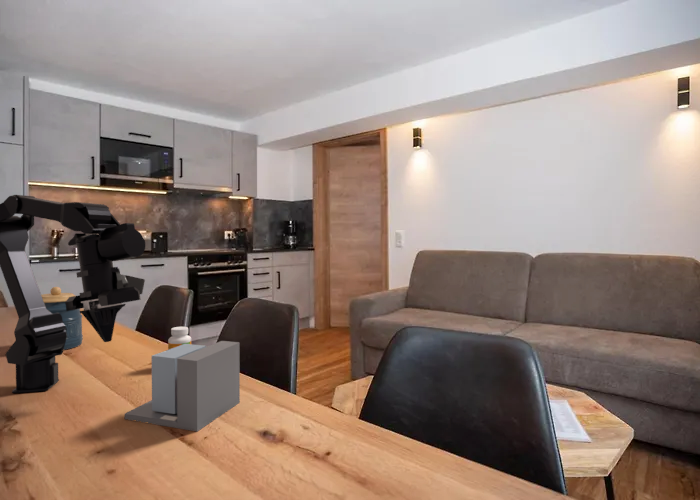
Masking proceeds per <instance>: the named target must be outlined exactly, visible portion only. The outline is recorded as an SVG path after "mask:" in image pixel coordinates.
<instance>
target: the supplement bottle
mask: <svg viewBox="0 0 700 500" xmlns="http://www.w3.org/2000/svg"><path fill="white" fill-rule="evenodd" d="M170 334H171V336H170V337H169V338H168V340H167V343H168V345H167V346H168V347H167V348H168V349H167V350H169V349H172V348H175V347H177V346H180V345H183V344H192V337H191V336H190V335H188V334H189V327H188V326H176V327H175V326H174V327H172V328H171V329H170Z"/></svg>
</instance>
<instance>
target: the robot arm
mask: <svg viewBox="0 0 700 500" xmlns="http://www.w3.org/2000/svg"><path fill="white" fill-rule="evenodd" d="M18 215H21V216H18ZM35 218H40V219H44V220H45V219H46V220H50V221H51V220H52V221H55V222H58V223H60V225H62V227H64V228H67V229H69V230H71V231H73V232H75V234H74V235H73V237H72V238H71V239H69V241H68V243H67V244H68V246H69V247H70V246H71V247H72V246H73V247H74V246H75V247H76V249H77V255H78V256H77V257H78V262H79V263H78V265H79V270H80V271H77V272H76V278H81V284H82V290H83V291H82V292H79V293H78V294H79V295H75V296H73V297H69V298H68V299H67V301H66V302H65V304H66V311H69V310H75V309H80V313H81V315H82V316H83V317H84V318H85V319H86V320H87V322H88V323H89V324H90V325H91V326H92V327H93V329H94V330H95V332H96V333H97V334H98V336H99V337H100V339H101V340H102V342H104V343H110V342H112V339H113V334H114V329H115V323H116V318H117V315H118V313H119V311H121V310H122V308H123V307H126V303H129V302H135V301H140V300H142V299H141V295H143V291H144V287H145V286H144V285H145V281H146V280H145V279H144V278H140V277H137V276H133V275H132V276H131V275H127V274H126V275H125V274H121V271H120V268H118V266H114V264H113V263H114V262H117V261H123V260H128V259H133V258H140V257H141V256H142V255H143V254H144V253H145V251H146V240H145V238H144V236H143V235H142V233H141V232H140V231H139V230H137V229H136V227H135V224H134V223H132V222H124V223H120V222H119V221H118V220H117V219H116V218H115V216H114V215H113V214H112V213H111V211H110V207H108V206H107V205H105V204H101V203H92V202H91V203H89V202H78V201H73V202H71V201H70V202H59V201H54V200H49V199H44V198H38V197H35V196H33V195H24V194H23V195H22V194H12V195H9V196H8V197H7V198H6V199H5V200H4V201H3V202H1V203H0V270H1V272H2V273H1V274H2V275H3V277H4V281H5V284H6V287H7V289H8V292H9V294H10V297H11V300H12V302H13V306H14V308H15V311H16V313H17V316H18V319H17V322H16V325H15V328H14V333H13V334H14V339H15V341H14V342H13V343H12V344H11V346H10V347H9V348H8V349H7V351H6V352H5V358H6V362H7V363H8V364H10V365H11V364H12V365H15V388H14V389H12V390H11V394H17V393H18V394H20V393H31V392H45V391H49V390H50V389H51V388H52V387H54V386H55V385H56V384H57V383H59V381H60V379H59V363H58V362H56V356H61V355H63V352H64V351H65V350H64V346H65V342H66V339H67V334H66V331H65V330H67V328H66V327H65V325H64V323H63V320H62V316H61V315H60V313H54V314H52V313H51V312H50V311H48V310H47V309H46V307H45V304H44V301H43V298H42V296H41V295H42V293H41V291H40V288H39V286H38V283H37V280H36V277H35V275H34V272H33V269H32V266H31V264H30V261H29V259H28V256H27V253H26V250H25V249H26V246H27V244H28V240H29V238H30V236H29V231H30V229H32V228H33V227H34V225H35ZM76 232H77V233H76ZM78 232H79V233H78ZM81 309H83V310H81Z"/></svg>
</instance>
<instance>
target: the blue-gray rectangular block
mask: <svg viewBox="0 0 700 500" xmlns="http://www.w3.org/2000/svg"><path fill="white" fill-rule="evenodd" d="M205 347H207V345H204V344H203V345H202V344H201V345H200V344H193V343H191V344H183V345H180V346H177V347H175V348H172V349H169V350H168V349H167V350H165V351H161V352H159V353H155V354H153V355H151V400H152V411H158V412H164V413H170V414H176V413H177V359H178V358H180V357H183V356H185V355H188V354H190V353H193V352H195V351H198V350H200V349H203V348H205Z"/></svg>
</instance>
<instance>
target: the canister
mask: <svg viewBox="0 0 700 500" xmlns="http://www.w3.org/2000/svg"><path fill="white" fill-rule="evenodd" d="M41 296H42V298H43V301H44V304H45V307H46V309H47V310H48V311H50V312H51V313H52V314H54V313H60V315H61V316H62V320H63V323H64V325H65V327H66V328H67V330H65V331H66V334H67V339H66V342H65V346H64V350H63V351H65V350H70V349H73V348H76V347H79V346H80V345H82V344H83V339H84V338H83V337H84V336H83V324H82V323H83V319H82V318H83V314H82V313H80V311H81V308H80V309H75V310H69V311H66V304H65V302H66V301H67V299H68V298H69V297H73V296H76V294H74V293H72V292H62V289H61V287H59V286H53V287H51V289H50V293H43V294H41Z"/></svg>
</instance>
